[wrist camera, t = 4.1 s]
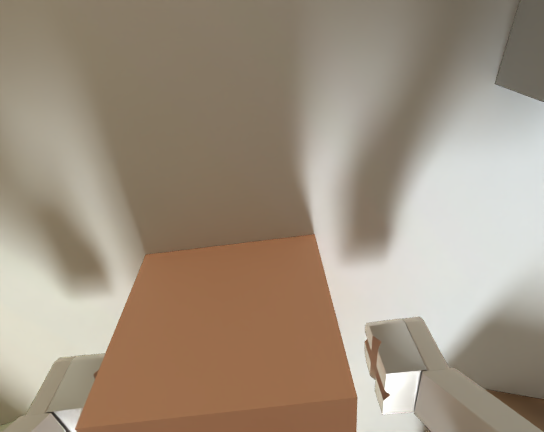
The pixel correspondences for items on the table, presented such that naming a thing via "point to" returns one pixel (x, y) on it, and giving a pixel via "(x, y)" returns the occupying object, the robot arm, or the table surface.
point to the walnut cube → (524, 406)
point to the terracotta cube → (226, 346)
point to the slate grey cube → (525, 52)
